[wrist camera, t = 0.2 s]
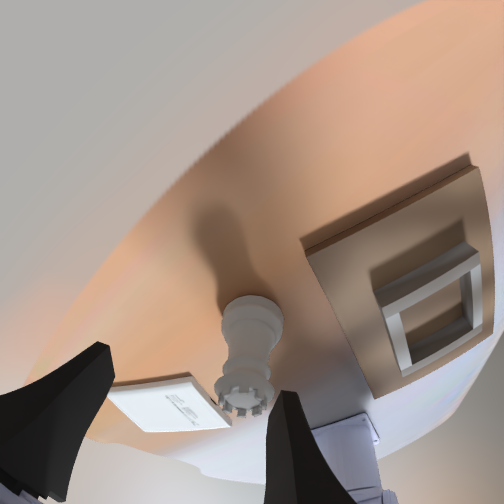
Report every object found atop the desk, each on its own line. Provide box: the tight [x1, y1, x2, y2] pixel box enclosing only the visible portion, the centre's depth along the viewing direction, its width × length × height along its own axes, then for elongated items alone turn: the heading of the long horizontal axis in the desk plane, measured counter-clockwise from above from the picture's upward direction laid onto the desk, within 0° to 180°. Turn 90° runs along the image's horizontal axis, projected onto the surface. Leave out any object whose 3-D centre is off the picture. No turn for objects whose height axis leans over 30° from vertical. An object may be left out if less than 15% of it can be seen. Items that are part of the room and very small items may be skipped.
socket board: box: [305, 165, 495, 399], centre depth 17 cm, size 17×14×3 cm
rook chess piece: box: [214, 295, 284, 418], centre depth 16 cm, size 4×4×8 cm
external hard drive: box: [107, 376, 232, 432], centre depth 26 cm, size 2×8×12 cm
